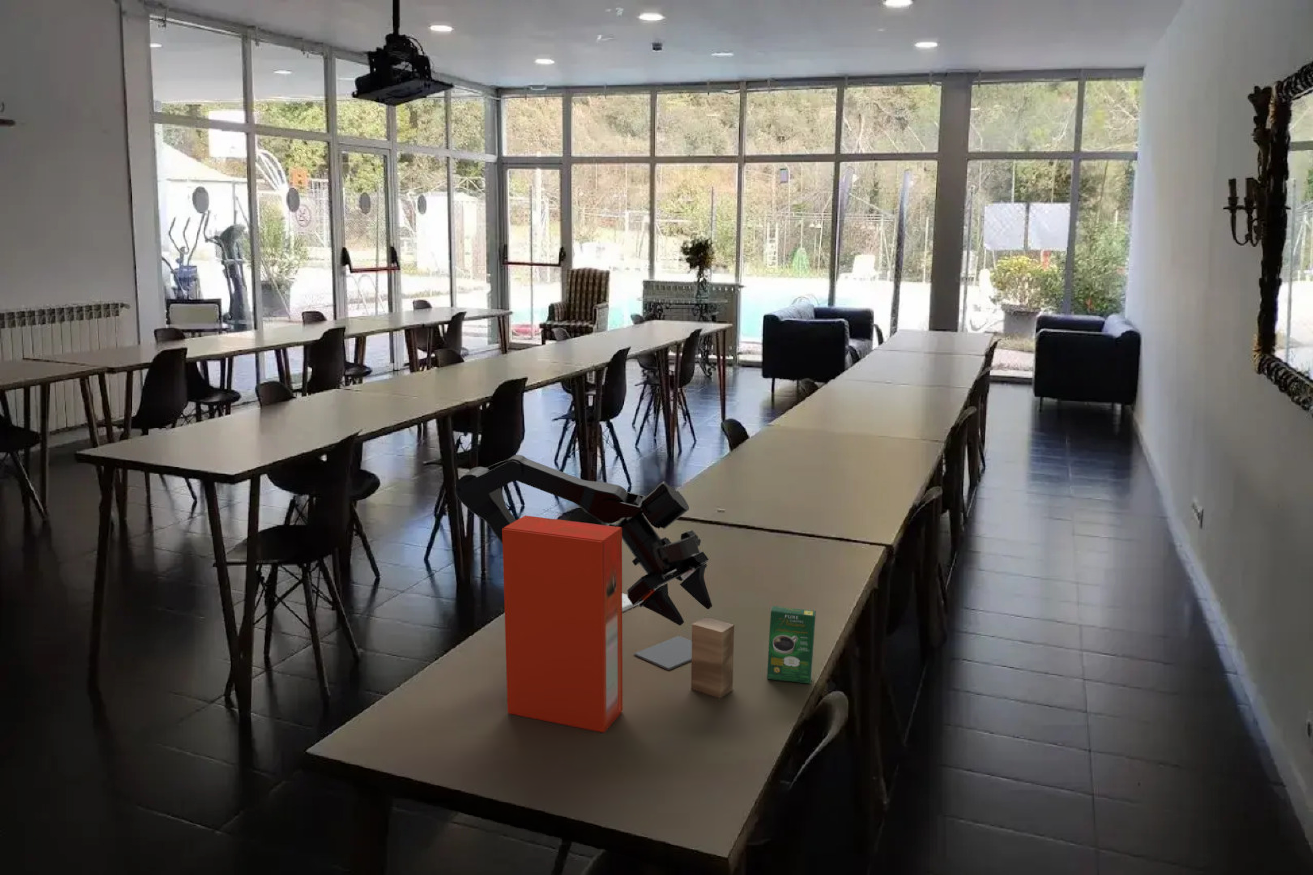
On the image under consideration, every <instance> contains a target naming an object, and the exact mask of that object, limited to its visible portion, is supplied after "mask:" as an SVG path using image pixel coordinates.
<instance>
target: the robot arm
mask: <svg viewBox="0 0 1313 875" xmlns="http://www.w3.org/2000/svg"><path fill="white" fill-rule="evenodd" d="M512 482H519V483H522V484H523V485H524V484H525V485H526V486H529V487H531V488H534V489H538V490H540V491H542V492H545V493H547V494H550V495H552V496H555V497H559V498H561V499H563V500H565V501H566V500H567V501H568V502H571V503H573V504H575V505H577V506H579V507H580V508H581V509H583V511H585V513H587V514H589V516H591V517H593V518H595V519H597V520H598V521H600V522H602V523H604V524H607V525H608V524H609V525H608V526H614V527H622V542H624V544H625V545H626V546H627V548H628V549H629V550H630V551H629V552H631V554H632V555H633V556H634V558H633V559H632V561H631V562H632V563H633V565H634V567H635V566H636V567H637V566H638V565H640V567H641V568H642V569H643V571H644V573H646V574H644V575H642V576H641V577H640V578H639V579H638V580H637V581H636V582H634V583H633V584H632V585H631V586H630V587H629V588H628V589H627V593H626V595H627V597H628V599H629V600H630V602H631V603H632V604H633V606H634V605H636V604H638V603H640V602H642V603H640V604H639V605H638V606H639V607H640V608H642V607H643V608H645V609H647V610H649V611H652V612H654V613H656V614H658V615H660V616H662V617H664V618H666V619H667V620H669V621H670V622H672V623H674V624H676V625H677V626H683V624H684V623H685V621H684V618H683V617H682V615H681V613H680V611H679V610H678V608H677V607H676V605H675V603H674V602H673V600H672V598H671V597H670V595H669V587H668V585H669V584H668V583H669V582H671V581H673V580H675V579H676V580H677V581H680V582H681V583H680V584H679V586H680V587H681V588H682V589H684V591H686V592H687V593H688V594H689V595H690V596H691V597H692V598H694V600H696V601H697V602H698V603H699V604H701V606H703V608H705V609H707V610H709V609H711V608H712V607H713V603H712V601H711V597H710V593H709V591H708V587H707V584H706V581H705V570H706V568H707V566H708V562H709V558H708V556H707V555H706V553H705V552H704V551H702V550H700V549H699V547H700V546H701V541H702V540H701V538H699V536H698V535H697V534H696V532H694V530H693V529H690V530H687V531H685V532H682V533H681V534H680V539H678V540H676V541H671V540H670V539H669V538H668V537H667V536H665V537H663V538H661V536H660V535H658V533H657V531H656V529H658V530H660V529H663V530H665V529H667V528H668V527H670V526H671V525H672V524H673V523H675V521H676V520H678V519H679V518H681V516H683V515H685V514H686V513H687V512H688V511H689V510H690V508H689V504H688V502H687V500H686V499H685V497H684V496H683V495H682V494H681V492H680V491H678V490H677V489H675V488H674V487H673V486H671V485H669V484H668V483H667V482H666V481H665V480H663V481H662V482H661V483H659V484H658V485H657V487H656V488H654V490H652V491H651V492H650V493H649V494H648V495H642V494H638V493H634V492H630V491H627V490H626V488H624V487H623V486H621V485H620V484H613V483H611V482H610V483H609V482H603V481H593V480H587V479H586V480H585V479H582V478H579V477H576V476H573V475H571V474H568V473H565V472H564V471H560V470H558V469H556V468H552V467H551V466H548V465H545V464H542V463H540V462H537V461H535V460H532V459H529V458H527V457H525V455H522V454H514V455H512V456H511V457H510V458H508V459H505V460H503V461H499V462H497V463H495V464H492V465H490V466H488V467H483V466H476V467H475V466H474V467H473V468H471V469H470V470H469V471H467V472H466V473H465V474H463V475H462V476H461V477H460V478H459V479H458V480H457V482H456V483H455V490H454V492H455V495H456V496H455V497H457V499H458V500H459V502H461V503H462V504H463V506H465V508H467V510H469V511H470V512H471V513H472V514H474V515H476V516H477V517H479V518H481V519H482V520H484V521H485V522H486V523H487V525H488V526H489V528H490V529H491V531H492V532H493V534H494V535H495V536H496V538H497V539H498V540H499V542H500V543H501V544H502V545H503V541H502V529H504V527H506V526H508V525H509V524H511V523H513V522H515V521H516V520H517V519H516V518H515V516H514V515H513V514H512V513H511V511H510V510H509V508H508V507H507V505H506V502H505V498H504V495H503V491H502V488H503V487H504V486H506V485H508V484H510V483H512ZM621 519H622V520H621ZM615 523H616V524H615ZM654 528H655V529H654Z"/></svg>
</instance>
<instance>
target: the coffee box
mask: <svg viewBox="0 0 1313 875" xmlns="http://www.w3.org/2000/svg"><path fill="white" fill-rule="evenodd" d="M815 626H816V610H810V609H803V608H794V607H793V608H792V607H791V608H790V607H784V606H777V605H776V606H775V605H772V607H771V610H770V621H769V632H768V633H769V635H768V636H769V637H768V654H767V655H768V656H767V671H766V672H767V674H766V679H768V680H775V681H782V682H783V681H784V682H793V683H798V684H808V685H809V684H810V685H811V684H812V674H813V673H812V672H813V658H814V644H815V628H816V627H815Z"/></svg>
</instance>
